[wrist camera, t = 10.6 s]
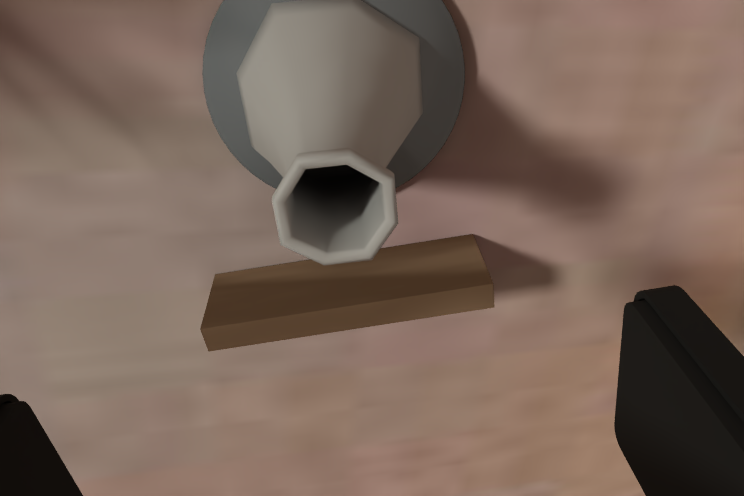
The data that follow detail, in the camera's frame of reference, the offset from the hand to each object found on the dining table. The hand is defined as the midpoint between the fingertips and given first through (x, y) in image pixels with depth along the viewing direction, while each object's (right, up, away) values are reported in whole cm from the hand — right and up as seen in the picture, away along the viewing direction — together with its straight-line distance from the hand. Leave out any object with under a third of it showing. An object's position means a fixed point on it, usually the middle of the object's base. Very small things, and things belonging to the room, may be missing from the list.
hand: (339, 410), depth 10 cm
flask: (-1, +9, +14) cm, 17 cm away
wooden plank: (-1, +2, +19) cm, 19 cm away
